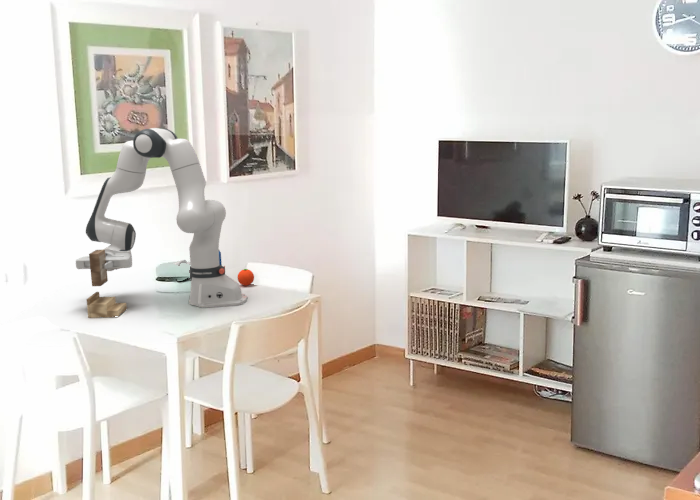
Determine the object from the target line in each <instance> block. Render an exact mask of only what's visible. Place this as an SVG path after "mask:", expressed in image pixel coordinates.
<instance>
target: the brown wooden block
mask: <svg viewBox="0 0 700 500" xmlns="http://www.w3.org/2000/svg"><path fill="white" fill-rule="evenodd" d="M88 256H89V259H90V269H89V270H90V279H91V280H90V281H91V286H92V287H101V286H103V285H104V284H105V283H107V282H108V281H109V278H108V271H107V269H102V264H103V263H106V257H105V250H103V249H95V250H94V251H92V252H90V253H88Z"/></svg>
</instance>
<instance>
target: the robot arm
mask: <svg viewBox="0 0 700 500" xmlns="http://www.w3.org/2000/svg"><path fill="white" fill-rule="evenodd" d="M152 158H157V159H159V158H163V159H165V160H166V161H167V163H168V165H169V169H170V172H171V175H172V178H173V181H174V184H175V187H176V192H177V197H178V212H177V214H176V218H175V219H176V224H177V226H178V229H180V231H182V232H183V233H187V234H193V237H192V240H191V242H190V244H189V247H188V250H189V262H190V265H191V266H190V270H189V273H190V278H189V279H190V294H189V300H188V304H189V305H192V306H196V307H198V308H215V307H217V308H218V307H229V306H232V307H233V306H239V305H240V306H241V305H243V304H245V303H246V302H247V301H248V295H247V294H246V293H242V290H241V287H240V283H239V282H237V281H236V280H234V279H233V278H232V277H230V276H229V275H227V274H226V265H224V266H223V264H222V265H220V264H219V250H220V247H219V246H220V237H221V231H222V225H223V222H225V219H226V215H227V211H226V208H225V205H224V204H223V203H222V202H221V201H218V200H215V199H205V197H206V196H205V189H206V185H207V182H206V178H205V175H204V172H203V169H202V165H201V164H200V163H201V162H200V161H199V157H198V155H197V153H196V151H195V149H194V147H193V145H192V144H191V142H190V141H189V140H188V139H187V138H178V136H177V134H176V133H174V131H172V130H170V129H168V128H158V127H151V128H144V129H142V130H140V131H138V132H137V133H136V134H135V135H134V137H133V139H132V140H127V141H125V142H124V143H123V145H122V147H121V148H120V151H119V155H118V159H117V162H116V167H115V168H116V169H115V171H114V173H113V175H112V176H110V177H107V178H106V179H105V181H104V182H103V185H102V186H101V189H100V192H99V194H98V197H97V199H96V203H95V205H94V208H93V211H92V213H91V216H90V217H89V220H88V222H87V224H86V227H85V234H86V236H87V238H89V240H90V241H91V242H98V243H103V244H108V246H107V247H105V248H103V249H102V250H105V257H106V263H103V264H102V269H107V272H113V271H114V270H119V269H130V268H132V267H133V256H132V252H131V250H132V249H133V247H134V245H135V242H136V235H137V233H136V230H135V227H134V226H133V225H132V224H131V223H130V222H124V221H121V220H117V219H111V218H108V217H106V216H105V214H106V212H107V208H108V206H109V203H110V200H111V198H112V197H113V196H115V195H117V194H125V193H132V192H135V191H136V190H138V189H140V188H141V187H142V185H144V181H145V177H146V174H147V167H148V163H149V160H150V159H152ZM75 268H76V269H77V270H90V259H89V255H87V256H82V257H79V258H77V259H75Z"/></svg>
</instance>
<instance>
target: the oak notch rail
mask: <svg viewBox="0 0 700 500" xmlns="http://www.w3.org/2000/svg"><path fill="white" fill-rule="evenodd" d="M116 300H117V298H116V296H100V291H96V292H94V293H93V294H92V295H90V296H89V297H88V298H86V307H87V318H89V319H91V318H92V319H95V318H96V319H97V318H99V319H101V318H100V317H103V318H116V317H115V316H119V315H120V314H121V313H122V314H123V313H125V311H126V309H127V310H128V306H127V302H116ZM122 314H121V315H122ZM121 315H120V316H121ZM120 316H119V317H120Z"/></svg>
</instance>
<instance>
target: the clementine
mask: <svg viewBox="0 0 700 500" xmlns="http://www.w3.org/2000/svg"><path fill="white" fill-rule="evenodd" d="M237 281H238V284H239V285H242V286H246V287H247V286H250V285H251V284H252V283H254V281H255V275H254V272H253V271H252V270H250V269H249V268H244V269H241V270H240V271H239V272H238V274H237Z"/></svg>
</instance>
